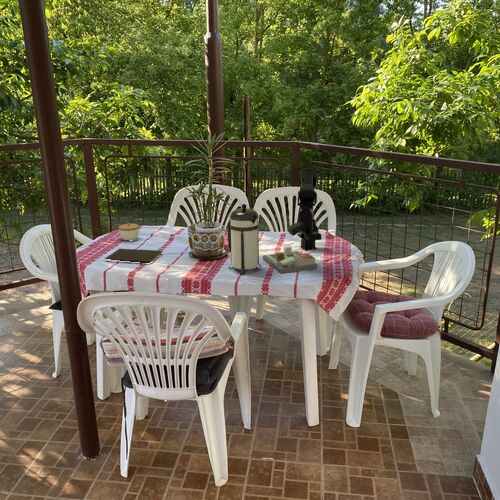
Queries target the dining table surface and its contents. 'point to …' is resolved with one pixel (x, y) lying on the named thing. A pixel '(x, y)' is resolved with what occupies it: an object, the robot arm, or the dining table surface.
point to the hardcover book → (135, 255)
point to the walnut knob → (279, 256)
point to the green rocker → (287, 260)
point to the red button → (305, 256)
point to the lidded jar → (129, 231)
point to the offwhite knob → (287, 250)
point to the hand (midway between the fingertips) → (305, 250)
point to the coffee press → (244, 239)
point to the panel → (293, 266)
